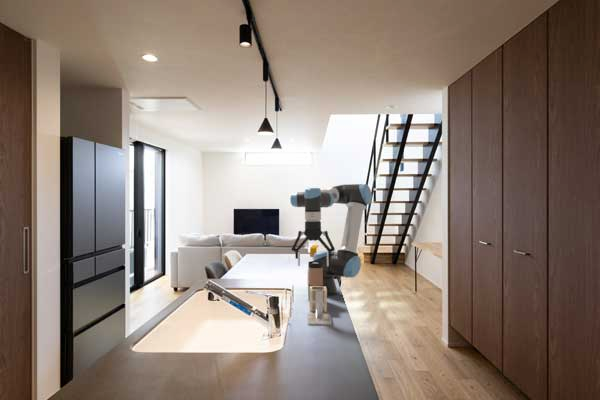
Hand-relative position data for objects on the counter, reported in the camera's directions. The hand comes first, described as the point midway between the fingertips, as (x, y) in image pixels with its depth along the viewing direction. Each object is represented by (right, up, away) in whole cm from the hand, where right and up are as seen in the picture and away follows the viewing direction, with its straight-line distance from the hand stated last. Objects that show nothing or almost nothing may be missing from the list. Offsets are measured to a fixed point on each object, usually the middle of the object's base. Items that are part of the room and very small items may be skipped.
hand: (313, 265), depth 173 cm
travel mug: (+2, -22, +17) cm, 27 cm away
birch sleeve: (+2, -21, +3) cm, 22 cm away
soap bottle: (+3, -22, +52) cm, 57 cm away
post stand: (+2, -21, -14) cm, 26 cm away
